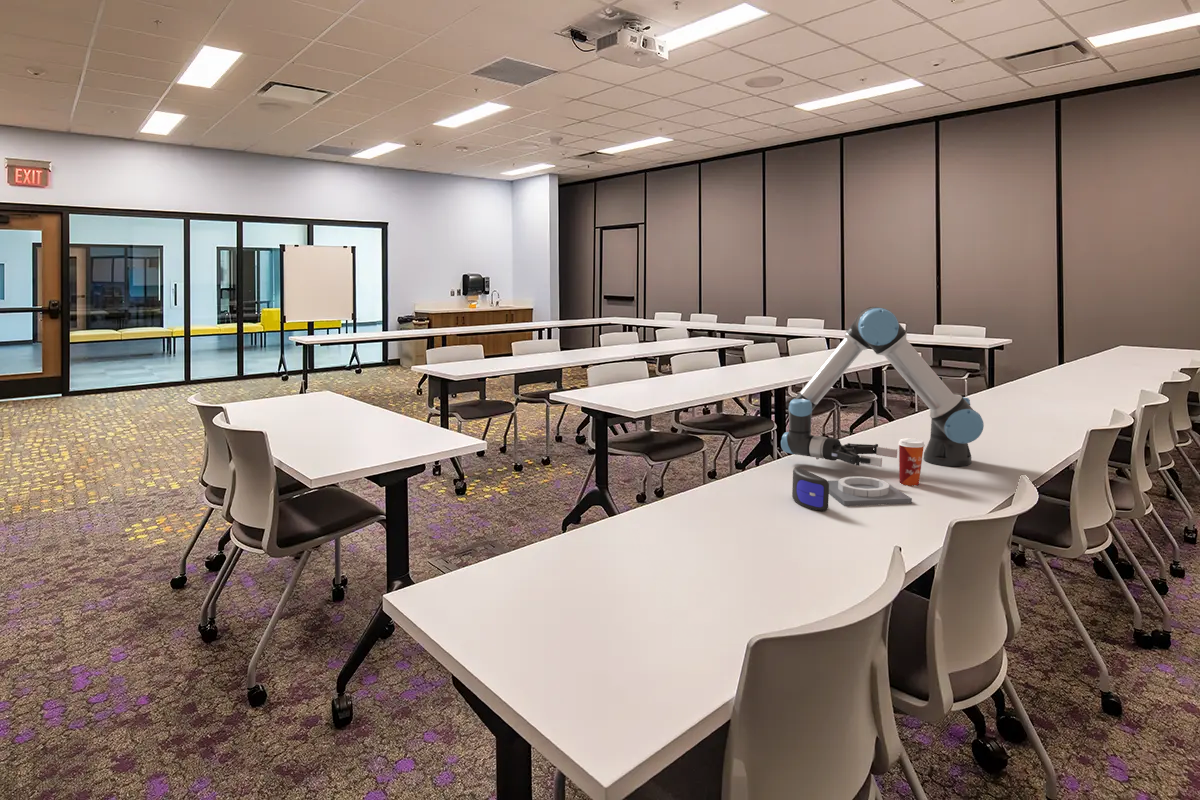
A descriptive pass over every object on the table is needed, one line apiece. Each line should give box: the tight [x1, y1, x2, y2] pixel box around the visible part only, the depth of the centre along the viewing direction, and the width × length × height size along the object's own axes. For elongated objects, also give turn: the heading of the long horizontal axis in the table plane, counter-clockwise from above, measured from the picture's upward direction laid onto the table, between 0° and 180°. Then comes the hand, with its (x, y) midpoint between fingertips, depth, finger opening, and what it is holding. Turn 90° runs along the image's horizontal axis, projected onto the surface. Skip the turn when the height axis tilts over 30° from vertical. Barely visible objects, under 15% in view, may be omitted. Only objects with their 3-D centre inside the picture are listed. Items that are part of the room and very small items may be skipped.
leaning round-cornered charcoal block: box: [791, 467, 830, 512], centre depth 201 cm, size 16×5×9 cm, turn 17°
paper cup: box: [897, 437, 926, 487], centre depth 219 cm, size 8×8×14 cm
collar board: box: [827, 475, 913, 507], centre depth 210 cm, size 20×20×4 cm
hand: (889, 457), depth 223 cm, fingers open, 13 cm apart
